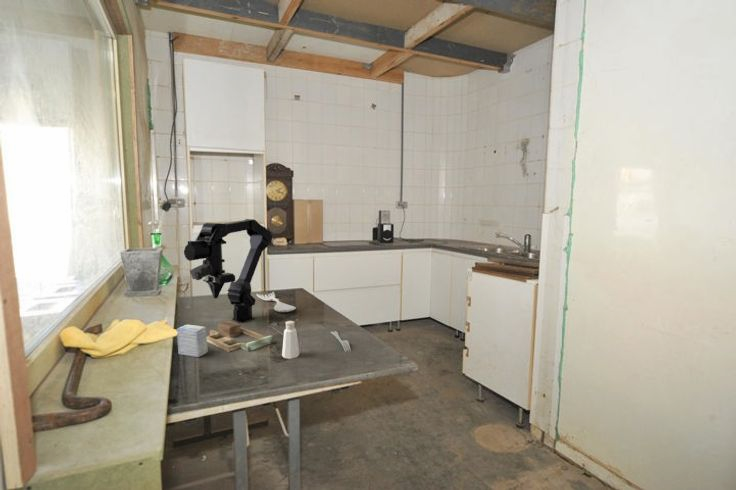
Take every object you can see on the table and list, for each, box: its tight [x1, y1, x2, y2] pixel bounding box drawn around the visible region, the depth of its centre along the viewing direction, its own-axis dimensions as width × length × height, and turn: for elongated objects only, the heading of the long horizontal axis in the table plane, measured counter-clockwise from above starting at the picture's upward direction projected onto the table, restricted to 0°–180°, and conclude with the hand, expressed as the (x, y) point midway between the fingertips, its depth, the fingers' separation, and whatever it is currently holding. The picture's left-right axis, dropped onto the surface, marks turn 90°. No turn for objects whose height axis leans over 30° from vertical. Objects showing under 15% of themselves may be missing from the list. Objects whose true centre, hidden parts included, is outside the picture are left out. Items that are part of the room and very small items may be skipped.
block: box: [217, 320, 242, 338], centre depth 141 cm, size 4×7×4 cm, turn 54°
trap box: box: [207, 326, 273, 353], centre depth 135 cm, size 14×24×2 cm, turn 51°
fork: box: [330, 330, 352, 353], centre depth 135 cm, size 3×21×3 cm, turn 19°
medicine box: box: [176, 324, 208, 358], centre depth 123 cm, size 8×4×9 cm, turn 71°
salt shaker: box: [281, 320, 300, 360], centre depth 122 cm, size 5×5×11 cm
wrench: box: [265, 321, 285, 339], centre depth 144 cm, size 5×20×1 cm, turn 37°
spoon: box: [256, 291, 297, 313], centre depth 178 cm, size 9×32×4 cm, turn 34°
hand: (215, 298), depth 145 cm, fingers closed
